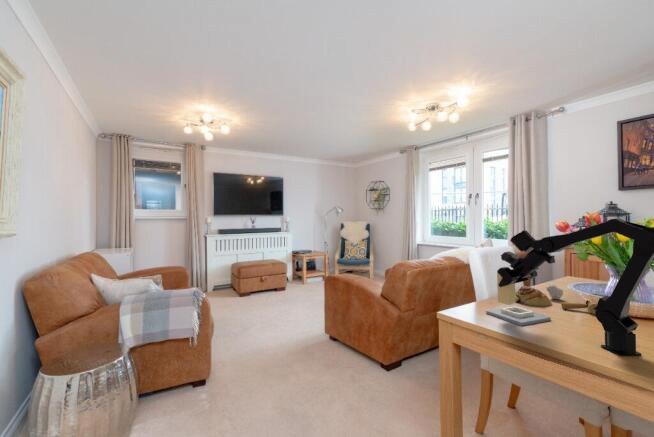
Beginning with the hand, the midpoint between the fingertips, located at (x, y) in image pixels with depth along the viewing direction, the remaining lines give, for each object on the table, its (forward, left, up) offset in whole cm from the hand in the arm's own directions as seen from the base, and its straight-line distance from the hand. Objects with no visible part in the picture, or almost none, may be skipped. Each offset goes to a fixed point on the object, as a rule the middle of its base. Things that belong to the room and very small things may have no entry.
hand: (502, 285), depth 121 cm
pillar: (-1, -1, -7) cm, 7 cm away
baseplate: (+1, -6, -13) cm, 15 cm away
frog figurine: (+25, -41, -14) cm, 50 cm away
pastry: (+21, -26, -14) cm, 37 cm away
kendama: (+5, -40, -14) cm, 43 cm away
